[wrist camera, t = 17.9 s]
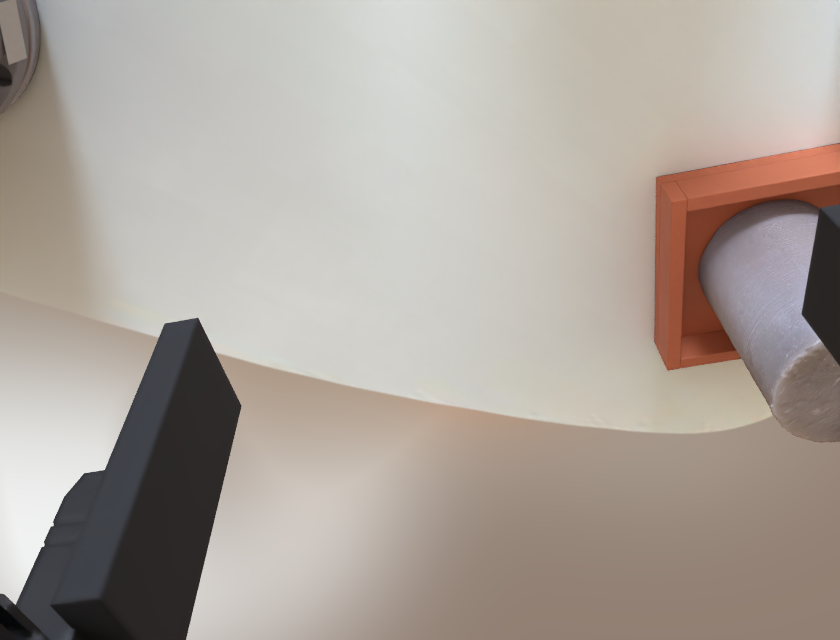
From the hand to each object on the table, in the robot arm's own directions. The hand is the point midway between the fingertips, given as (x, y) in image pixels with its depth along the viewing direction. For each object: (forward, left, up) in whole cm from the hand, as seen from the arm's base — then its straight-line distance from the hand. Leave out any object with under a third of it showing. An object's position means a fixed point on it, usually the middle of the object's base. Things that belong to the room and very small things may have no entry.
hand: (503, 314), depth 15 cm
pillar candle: (+20, -23, -31) cm, 43 cm away
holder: (+20, -23, -32) cm, 44 cm away
